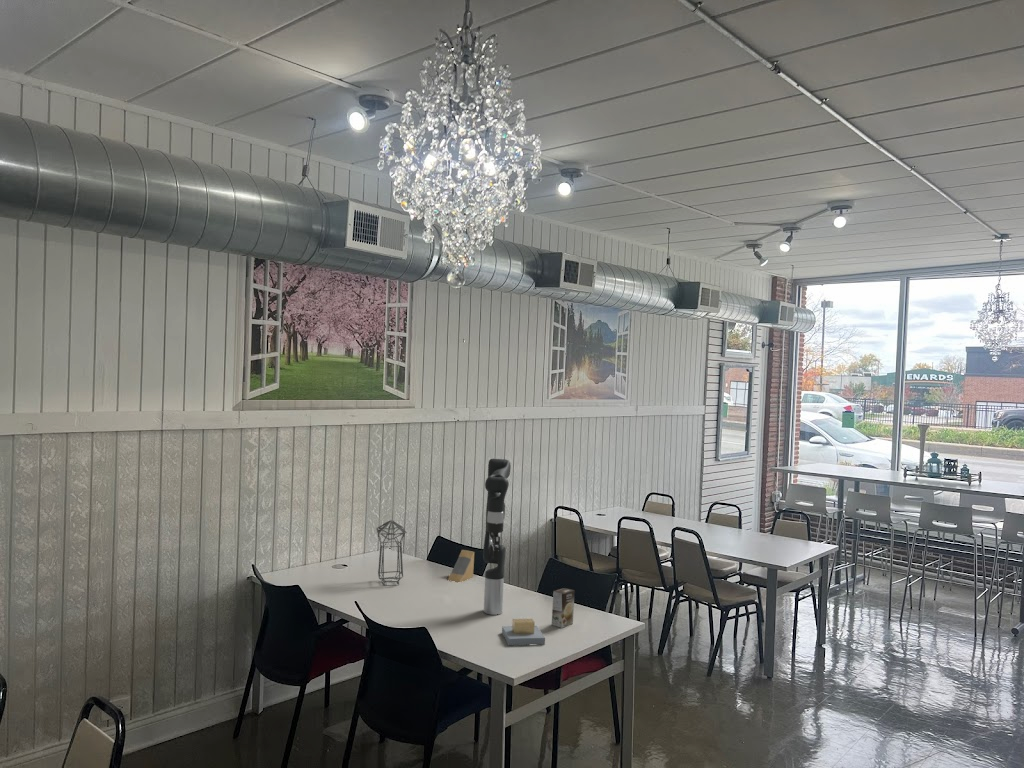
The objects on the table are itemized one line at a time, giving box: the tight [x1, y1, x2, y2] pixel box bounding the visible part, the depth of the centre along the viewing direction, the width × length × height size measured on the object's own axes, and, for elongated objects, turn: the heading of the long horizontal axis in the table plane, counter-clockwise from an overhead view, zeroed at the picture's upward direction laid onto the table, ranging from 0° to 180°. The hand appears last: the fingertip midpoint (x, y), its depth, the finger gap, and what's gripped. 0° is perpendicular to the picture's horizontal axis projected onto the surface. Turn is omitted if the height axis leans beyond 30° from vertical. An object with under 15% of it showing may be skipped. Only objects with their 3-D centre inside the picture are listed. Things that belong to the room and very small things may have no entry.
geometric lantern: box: [375, 519, 407, 586], centre depth 407 cm, size 16×16×35 cm
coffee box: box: [551, 587, 576, 629], centre depth 350 cm, size 9×6×16 cm
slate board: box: [501, 625, 546, 646], centre depth 328 cm, size 16×16×3 cm
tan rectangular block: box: [511, 618, 536, 634], centre depth 328 cm, size 5×9×5 cm, turn 101°
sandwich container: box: [447, 549, 475, 583], centre depth 423 cm, size 9×15×15 cm, turn 154°
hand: (493, 556), depth 335 cm, fingers open, 8 cm apart
